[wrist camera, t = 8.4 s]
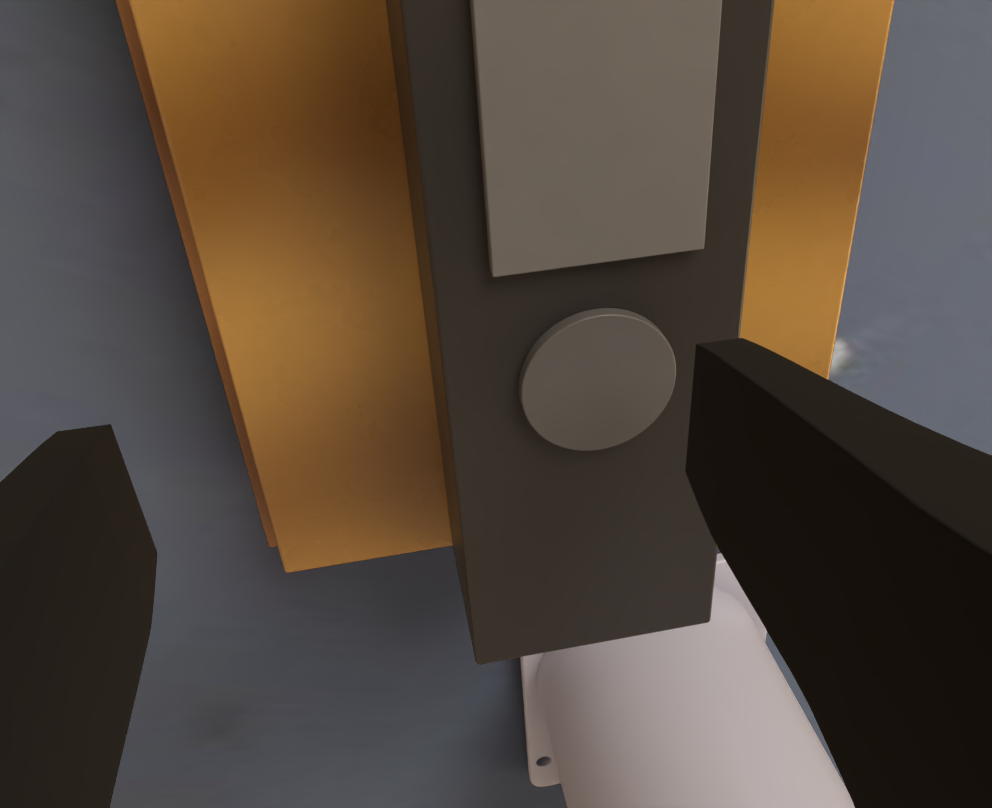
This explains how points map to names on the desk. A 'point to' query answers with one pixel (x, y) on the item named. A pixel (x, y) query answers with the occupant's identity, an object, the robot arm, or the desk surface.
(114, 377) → the desk surface
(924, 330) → the desk surface
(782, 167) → the footstool
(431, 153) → the remote
